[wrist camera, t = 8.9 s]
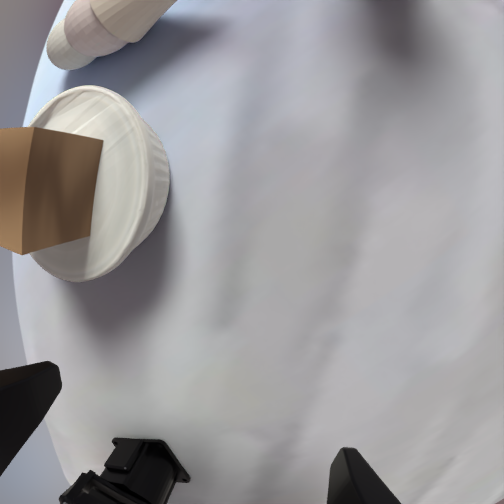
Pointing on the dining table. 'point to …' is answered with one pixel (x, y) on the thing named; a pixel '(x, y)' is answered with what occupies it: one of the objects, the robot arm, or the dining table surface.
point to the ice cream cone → (101, 29)
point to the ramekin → (108, 181)
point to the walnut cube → (45, 187)
